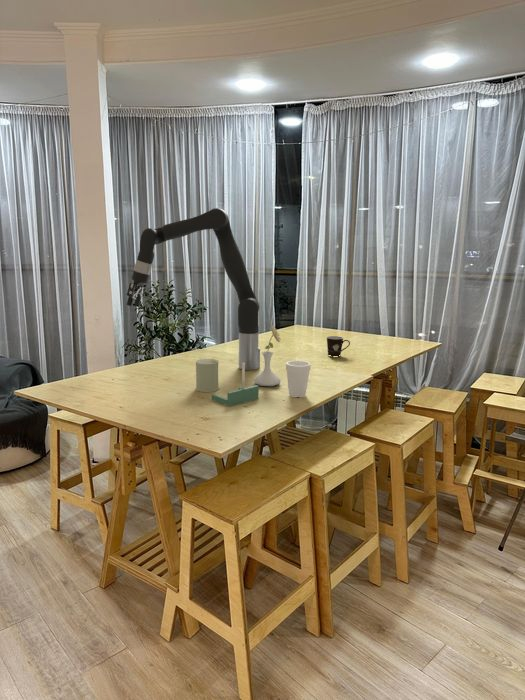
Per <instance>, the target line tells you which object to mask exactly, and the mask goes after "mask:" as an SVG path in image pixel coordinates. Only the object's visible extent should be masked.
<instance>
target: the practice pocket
mask: <svg viewBox="0 0 525 700" xmlns="http://www.w3.org/2000/svg"><path fill="white" fill-rule="evenodd" d="M241 373H242V374H241V386H240V387H237V389H236V390H232V391H228V392H227V393H226V394H227V395H226V396H227V398H226V397H224V396H220V395H219V394H216V393H213V394H211V399H212V401H214V402H217V403H219V404H222V405H225V406H227V407H233V406H236V405H240V404H243V403H246V402H251V401H253V400H254V401H255V400H257V399H259V396H260V395H259V392H260V389H259V388H260V387H259V386H260V385H258V384H255V385H252V386H248V387H245V385H246V384H245V383H246V370H245V363H242V369H241Z"/></svg>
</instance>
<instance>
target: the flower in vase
mask: <svg viewBox="0 0 525 700" xmlns="http://www.w3.org/2000/svg"><path fill="white" fill-rule="evenodd" d="M270 331H271V333H272V335H271V337H270V339H269V341H268V345H265V347H264V349H265V350H266V351H262V352H261V354H262V355H263V360H264V368H263V370H262V371H261V372H260V373H258V374H257V375H256V376H255V377H254V379H253V382H254V384H255V385H257V386H262V387H274V386H277V385H279V384H280V383H281V378H280V377H279V376H278V375H277V374H275V372H274V371H272V370H271V359H272V356H273V355H274V351H269V350H270V349H273V348H274V344H273V343H272V342H271V341H272V338H273V337H274V339H275V340H276V342H278V343H281V340H282V339H281V338H280V334H279V333H278V330H277V328H275V326H274V325H270Z"/></svg>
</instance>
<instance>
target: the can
mask: <svg viewBox="0 0 525 700" xmlns="http://www.w3.org/2000/svg"><path fill="white" fill-rule="evenodd" d="M195 377H196V381H195V382H196V383H195V386H196V387H195V390H196V391H198V392H200V393H214V392H217V391H219V389H220V388H219V360H217V359H214V358H201V359H196V361H195Z"/></svg>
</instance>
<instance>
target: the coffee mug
mask: <svg viewBox="0 0 525 700" xmlns="http://www.w3.org/2000/svg"><path fill="white" fill-rule="evenodd" d="M345 342H348V345H347V346H346V347H344V348H343V344H344V343H345ZM326 343H327V344H326V345H327V346H326V347H327V356H328V355H331V356H339V355H340V356H341V354H342V352H343V351H345V350H346V349H347V348H348V347H349V346H350V344H351V341H349V339H344V336H339V335H338V336H337V335H331V336H326Z"/></svg>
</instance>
